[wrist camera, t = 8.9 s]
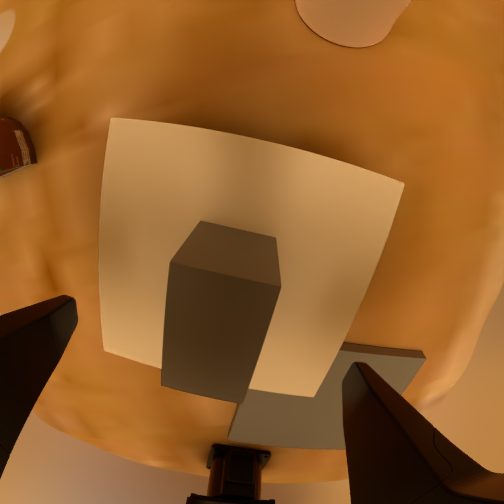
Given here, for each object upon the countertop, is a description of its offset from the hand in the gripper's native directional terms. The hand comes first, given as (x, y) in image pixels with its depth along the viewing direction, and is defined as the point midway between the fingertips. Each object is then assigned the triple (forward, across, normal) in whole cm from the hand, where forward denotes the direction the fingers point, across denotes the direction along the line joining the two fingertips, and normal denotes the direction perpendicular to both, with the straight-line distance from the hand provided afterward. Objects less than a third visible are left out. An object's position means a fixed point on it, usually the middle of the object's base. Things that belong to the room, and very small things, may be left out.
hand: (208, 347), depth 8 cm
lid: (+5, 0, 0) cm, 5 cm away
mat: (+10, -10, +13) cm, 19 cm away
